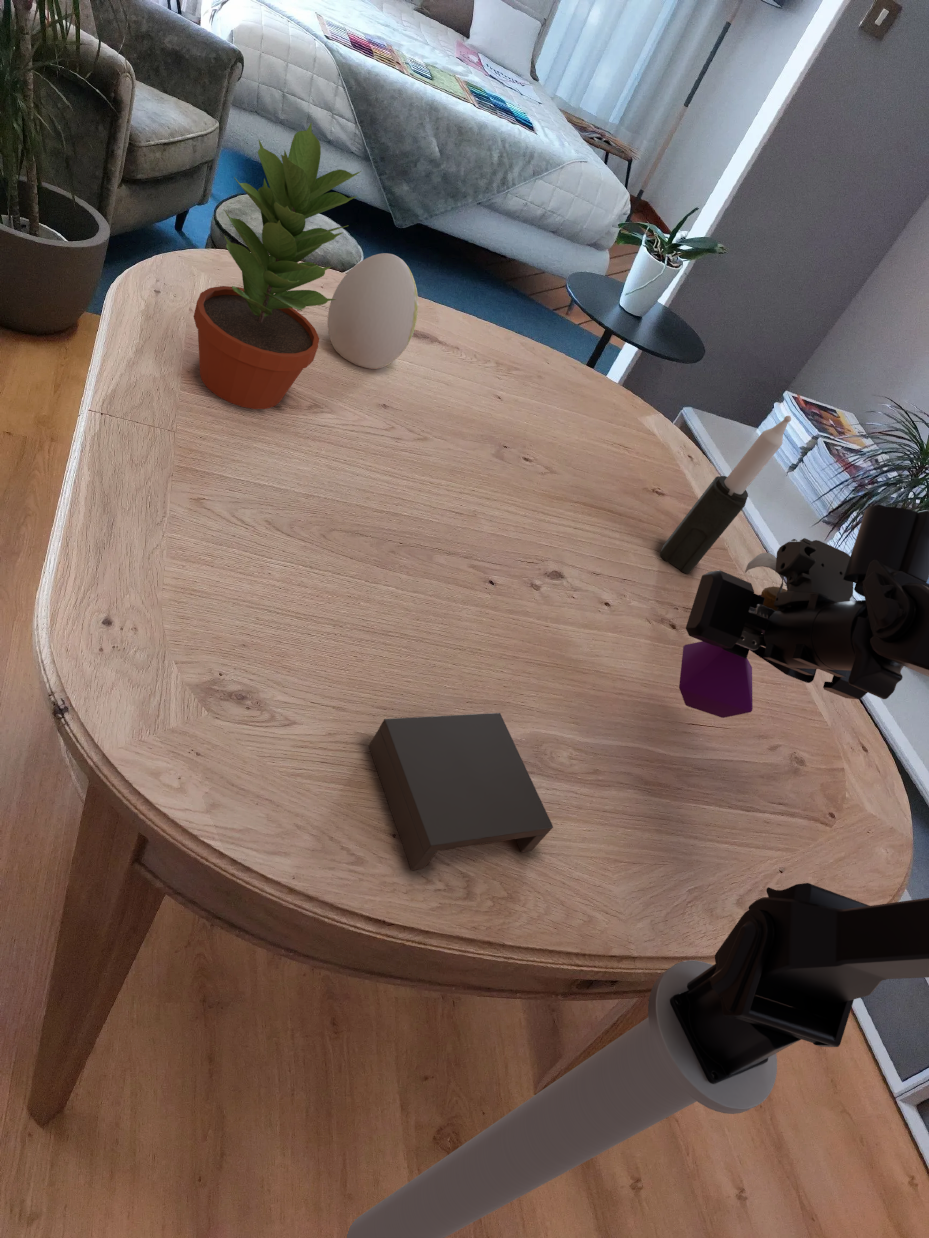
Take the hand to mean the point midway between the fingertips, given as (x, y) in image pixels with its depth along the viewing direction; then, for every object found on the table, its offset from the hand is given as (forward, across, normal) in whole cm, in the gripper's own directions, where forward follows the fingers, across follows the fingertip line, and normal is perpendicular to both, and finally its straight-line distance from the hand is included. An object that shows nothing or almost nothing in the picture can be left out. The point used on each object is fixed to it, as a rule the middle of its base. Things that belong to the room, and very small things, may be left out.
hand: (733, 636), depth 85 cm
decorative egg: (+47, +44, -29) cm, 70 cm away
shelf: (-4, +24, +24) cm, 34 cm away
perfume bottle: (+4, -2, +7) cm, 8 cm away
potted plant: (+32, +56, -13) cm, 66 cm away
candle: (+34, -8, -15) cm, 38 cm away
